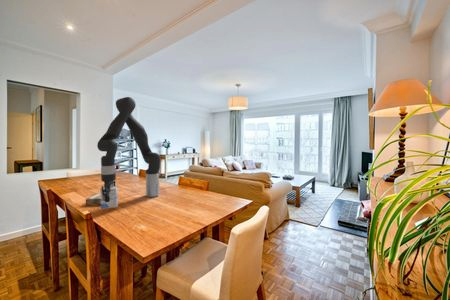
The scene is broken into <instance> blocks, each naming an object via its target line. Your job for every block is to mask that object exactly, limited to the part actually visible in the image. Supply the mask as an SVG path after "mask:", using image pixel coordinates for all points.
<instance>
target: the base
mask: <svg viewBox="0 0 450 300" xmlns="http://www.w3.org/2000/svg"><path fill="white" fill-rule="evenodd" d="M85 206H101V192H100V193H93V195H91V196H90V197H87V198H86V199H85Z"/></svg>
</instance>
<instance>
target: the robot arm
mask: <svg viewBox="0 0 450 300" xmlns="http://www.w3.org/2000/svg"><path fill="white" fill-rule="evenodd" d="M115 106H116V109H117V111H118V112H119V113H118V114H117V115H116V117H115V118H114V119H113V120H112V121H111V123H110V124H109V126H108V128H107V130H106V132H105V133H104V134H103V135H102V136H101V138H100V139H99V140H98V142H97V145H96V146H97V149H98V150H99V151H100V152H104V153H105V152H106V153H105V155H102V156H101V157H100V180H101V182H103V185H102V186H101V187H100V189H101V188H102V195H103V196H105V202H109V193H110V191H111V187H114V186H116V178H117V175H116V174H117V173H116V172H117V171H116V162H115V160H116V155H117V152H118V143H117V142H116V140H117V139H118V138H119V137H120V135H121V133H122V130H123V128H124V126H125V124H126V126H127V128H128V130H129V131H130V133H131V135H132V137H133V139H134V141H135V142H136V143H135V144H136V145H137V147H138V149H139V151H140V153H141V157H142V158H143V161H144V162H145V163H146V164H147V165H148V168H147V169H146V170H145V196H146V197H147V198H155V197H159V195H160V181H159V180H160V178H159V177H160V174H159V173H160V172H159V171H160V169H161V157H160V154H159V153H157V152H153V151H152V150H151V148H150V145H149V140H148V139H149V138H148V134H147V133H148V132H146V130H145V127H144V126H143V125H142V124H141V123H140V122H139V121H138V120H137V119H136V118H135V117H134V116H133V114H132V113H133V112H134V111H135V108H136V101H135V100H134V99H133V97H130V96H126V97H122V98H118V99H117V100H116V101H115ZM107 189H109V190H107Z"/></svg>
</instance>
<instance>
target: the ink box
mask: <svg viewBox="0 0 450 300" xmlns="http://www.w3.org/2000/svg"><path fill="white" fill-rule="evenodd" d="M107 190H109V189H107ZM118 190H119V189H118V186H117V185H115V186H114V187H111V191H110V193H109V202H105V196H103V195H102V188H101V187H100V193H101V205H100V209H108V208H117V207H118V205H119V193H118Z"/></svg>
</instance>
